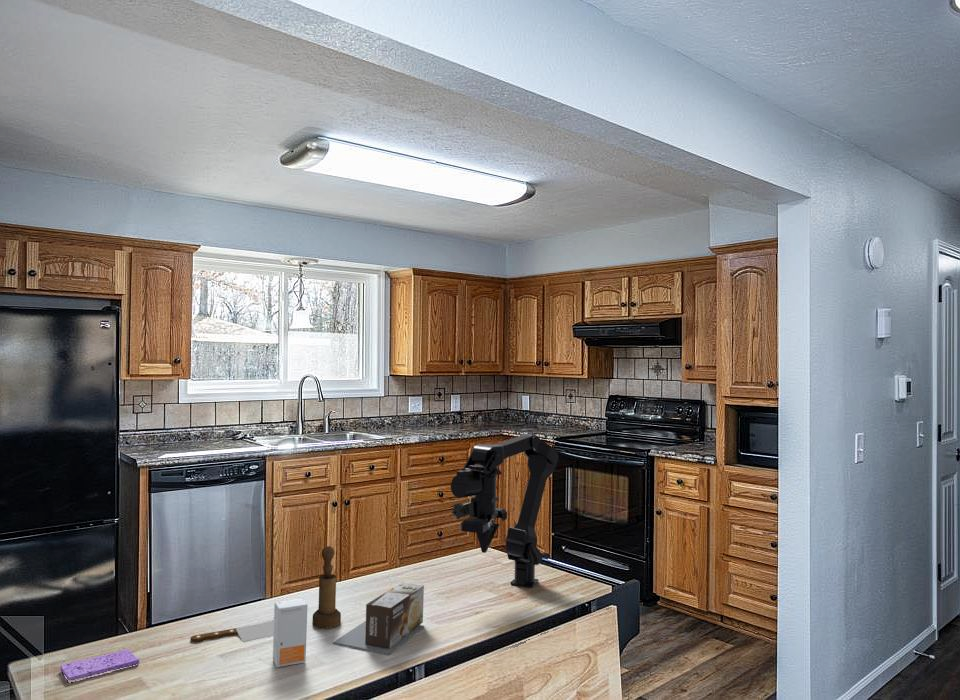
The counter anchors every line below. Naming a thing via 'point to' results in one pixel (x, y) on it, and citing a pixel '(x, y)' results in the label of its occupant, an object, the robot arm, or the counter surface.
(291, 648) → the skincare box
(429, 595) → the counter surface
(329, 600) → the mortar and pestle
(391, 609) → the coffee box
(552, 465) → the robot arm
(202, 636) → the kitchen cleaver
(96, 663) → the sponges
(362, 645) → the mat
